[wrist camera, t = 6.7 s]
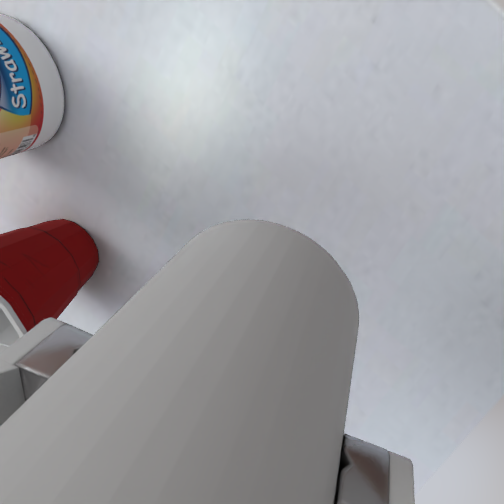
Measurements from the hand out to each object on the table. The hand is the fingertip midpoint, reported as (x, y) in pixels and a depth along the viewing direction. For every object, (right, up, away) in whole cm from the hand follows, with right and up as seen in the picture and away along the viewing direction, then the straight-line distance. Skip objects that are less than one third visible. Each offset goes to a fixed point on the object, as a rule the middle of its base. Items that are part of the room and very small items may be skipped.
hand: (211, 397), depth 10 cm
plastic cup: (-15, +4, +26) cm, 30 cm away
